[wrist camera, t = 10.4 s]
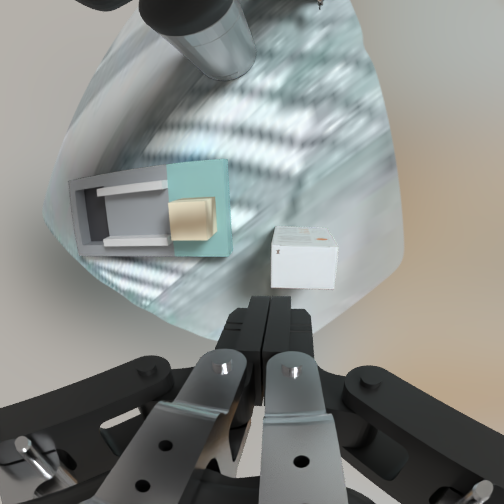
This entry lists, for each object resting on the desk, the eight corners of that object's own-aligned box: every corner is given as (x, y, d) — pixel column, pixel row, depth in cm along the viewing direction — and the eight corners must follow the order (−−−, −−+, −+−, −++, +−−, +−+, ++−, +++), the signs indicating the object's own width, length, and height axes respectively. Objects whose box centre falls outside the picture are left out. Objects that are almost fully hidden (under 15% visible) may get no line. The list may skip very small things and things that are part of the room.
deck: (78, 179, 44) (61, 182, 40) (227, 159, 40) (219, 158, 36) (88, 251, 49) (72, 259, 44) (232, 250, 44) (225, 261, 40)
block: (182, 198, 40) (168, 202, 35) (215, 196, 39) (204, 201, 34) (184, 231, 41) (171, 240, 37) (217, 231, 41) (207, 240, 36)
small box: (274, 260, 44) (268, 288, 34) (274, 224, 42) (269, 243, 32) (325, 262, 43) (334, 291, 33) (328, 226, 41) (339, 246, 31)
